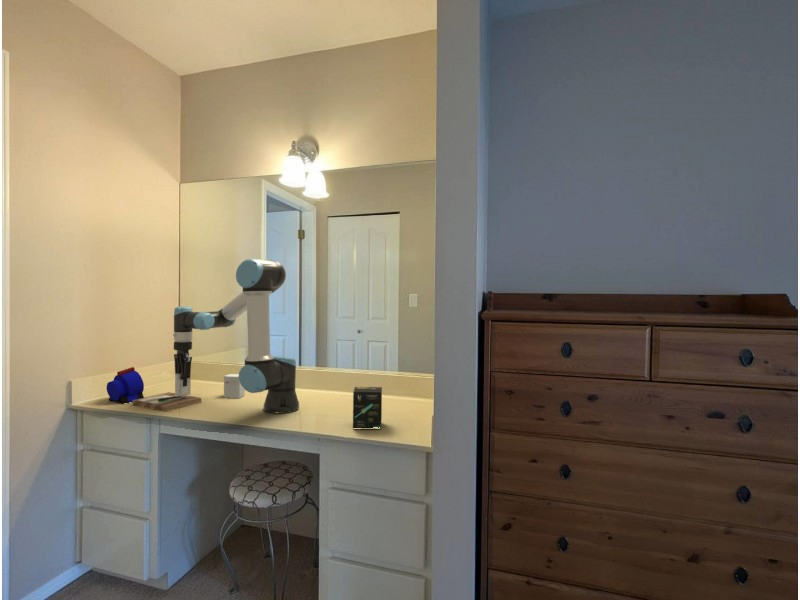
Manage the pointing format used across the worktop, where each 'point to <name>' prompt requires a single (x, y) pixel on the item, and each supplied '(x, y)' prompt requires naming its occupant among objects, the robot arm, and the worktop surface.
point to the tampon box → (367, 407)
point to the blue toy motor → (126, 386)
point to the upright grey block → (179, 387)
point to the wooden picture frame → (166, 401)
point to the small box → (233, 386)
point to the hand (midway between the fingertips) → (182, 392)
